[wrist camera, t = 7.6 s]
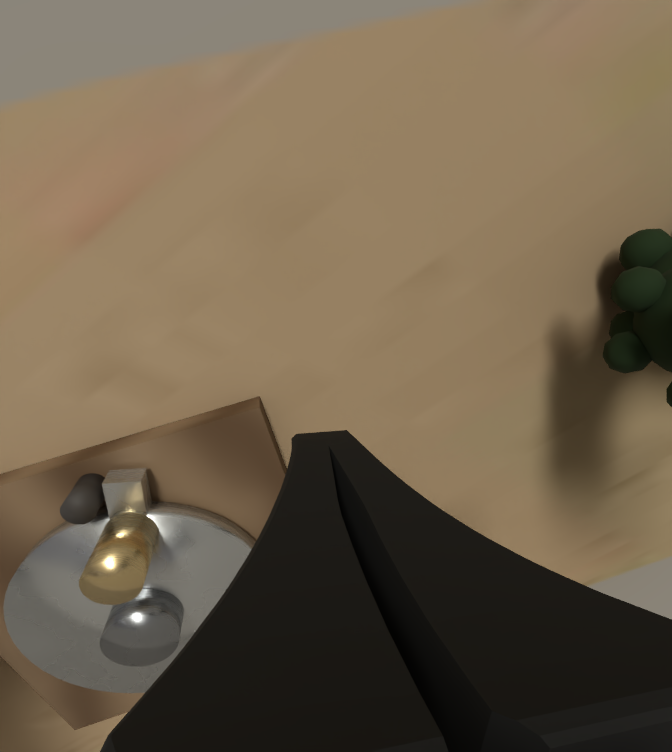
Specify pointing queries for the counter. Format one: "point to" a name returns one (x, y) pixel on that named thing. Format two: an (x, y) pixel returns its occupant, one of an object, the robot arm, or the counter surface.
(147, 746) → the robot arm
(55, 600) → the flange plate
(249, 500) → the walnut board
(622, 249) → the toy figurine
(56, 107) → the counter surface
